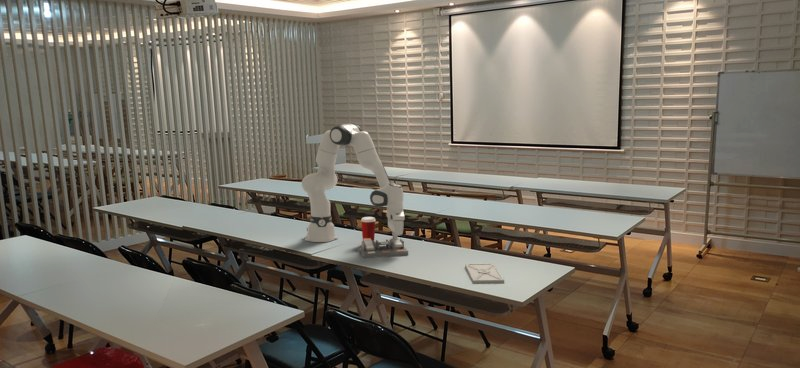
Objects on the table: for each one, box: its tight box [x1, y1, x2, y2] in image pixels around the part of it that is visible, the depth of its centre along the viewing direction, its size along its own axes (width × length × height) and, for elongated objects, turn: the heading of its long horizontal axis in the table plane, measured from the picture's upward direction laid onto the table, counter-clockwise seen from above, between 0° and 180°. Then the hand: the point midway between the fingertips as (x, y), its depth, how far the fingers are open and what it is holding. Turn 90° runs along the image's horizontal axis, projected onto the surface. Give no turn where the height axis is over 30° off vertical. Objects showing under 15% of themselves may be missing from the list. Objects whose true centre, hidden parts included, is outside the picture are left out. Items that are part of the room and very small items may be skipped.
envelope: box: [464, 262, 505, 284], centre depth 268 cm, size 24×2×14 cm
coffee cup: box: [360, 216, 377, 242], centre depth 322 cm, size 8×8×15 cm
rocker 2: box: [378, 240, 389, 246], centre depth 307 cm, size 10×4×1 cm, turn 14°
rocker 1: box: [362, 238, 374, 250], centre depth 305 cm, size 10×4×1 cm, turn 13°
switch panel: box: [359, 238, 409, 259], centre depth 305 cm, size 14×23×6 cm, turn 104°
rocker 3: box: [390, 237, 403, 247], centre depth 309 cm, size 10×4×1 cm, turn 14°
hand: (395, 239), depth 313 cm, fingers closed, pressing on rocker 3
